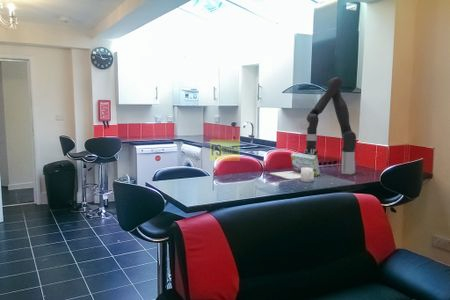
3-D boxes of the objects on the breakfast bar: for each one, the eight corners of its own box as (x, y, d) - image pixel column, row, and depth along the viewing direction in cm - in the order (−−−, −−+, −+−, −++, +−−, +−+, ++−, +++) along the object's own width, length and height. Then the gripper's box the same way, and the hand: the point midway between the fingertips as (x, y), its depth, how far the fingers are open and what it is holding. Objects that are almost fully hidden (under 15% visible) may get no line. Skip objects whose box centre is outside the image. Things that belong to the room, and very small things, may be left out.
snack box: (293, 171, 291) (289, 154, 285) (297, 168, 294) (294, 151, 288) (316, 176, 276) (313, 158, 270) (320, 172, 279) (317, 155, 273)
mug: (307, 179, 263) (307, 166, 262) (317, 182, 253) (317, 169, 252) (298, 180, 259) (298, 167, 258) (308, 183, 250) (308, 170, 249)
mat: (292, 171, 295) (292, 171, 295) (313, 177, 272) (313, 176, 272) (269, 173, 285) (269, 173, 285) (289, 179, 262) (289, 178, 262)
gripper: (307, 140, 278) (306, 163, 279) (321, 140, 283) (320, 162, 285) (301, 139, 284) (300, 161, 286) (315, 139, 290) (313, 161, 292)
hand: (310, 162), depth 286 cm, fingers closed
